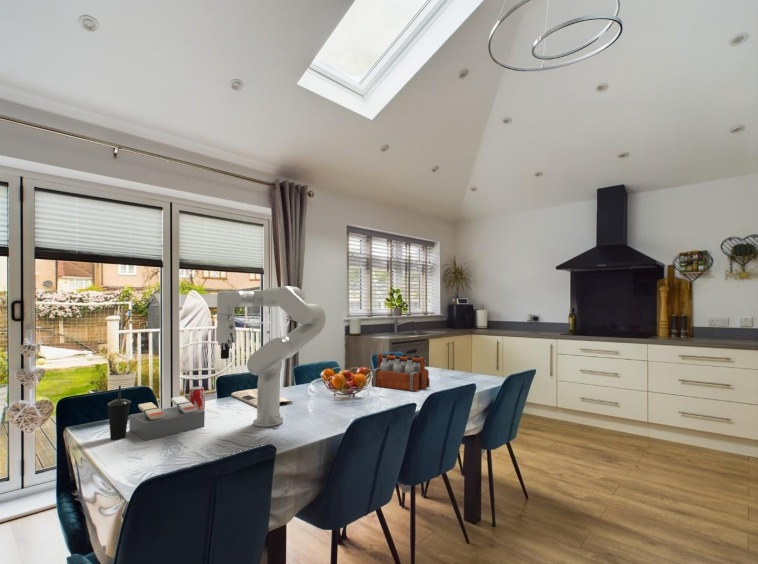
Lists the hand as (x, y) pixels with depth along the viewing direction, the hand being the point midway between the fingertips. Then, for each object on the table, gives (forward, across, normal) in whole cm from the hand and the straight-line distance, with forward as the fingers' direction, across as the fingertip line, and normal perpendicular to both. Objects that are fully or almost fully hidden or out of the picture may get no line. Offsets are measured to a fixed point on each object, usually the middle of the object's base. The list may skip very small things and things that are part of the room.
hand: (224, 358), depth 183 cm
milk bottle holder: (+28, -16, -110) cm, 114 cm away
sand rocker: (+18, +4, +29) cm, 35 cm away
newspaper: (+28, +18, -32) cm, 46 cm away
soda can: (+27, +18, +4) cm, 33 cm away
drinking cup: (+27, +7, +40) cm, 49 cm away
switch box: (+27, +7, +22) cm, 36 cm away
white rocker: (+18, +4, +16) cm, 25 cm away
